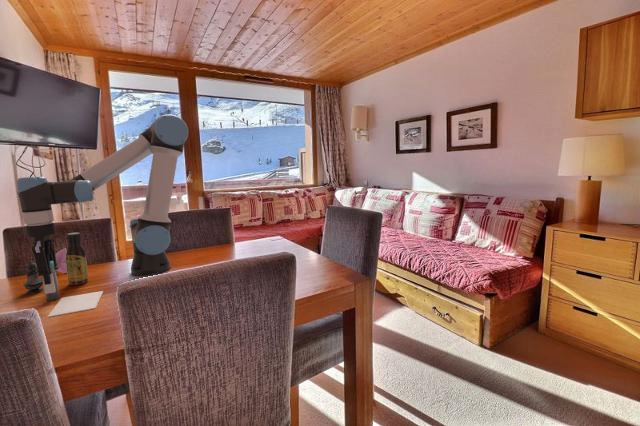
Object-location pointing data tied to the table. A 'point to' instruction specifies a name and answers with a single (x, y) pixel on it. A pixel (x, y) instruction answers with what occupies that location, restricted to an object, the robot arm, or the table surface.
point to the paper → (76, 303)
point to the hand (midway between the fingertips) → (52, 290)
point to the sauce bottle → (76, 260)
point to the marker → (55, 295)
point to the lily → (61, 261)
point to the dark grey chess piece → (32, 279)
